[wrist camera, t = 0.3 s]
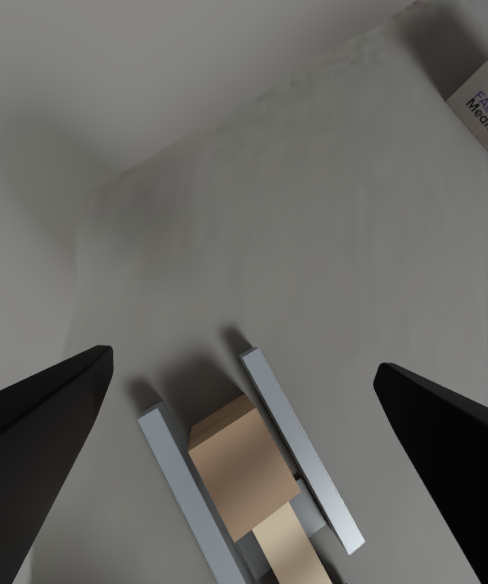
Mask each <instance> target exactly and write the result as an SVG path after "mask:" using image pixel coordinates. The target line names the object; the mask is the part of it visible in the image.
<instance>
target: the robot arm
mask: <svg viewBox="0 0 488 584" xmlns="http://www.w3.org/2000/svg"><path fill="white" fill-rule="evenodd" d="M113 370H114V367H113V349H112V347H111V346H105V345H97V346H95V347H92V348H90V349H88V350H86V351H84V352H82V353H80V354H77V355H75V356H73V357H71V358H69V359H67V360H64V361H62V362H60V363H58V364H56V365H54V366H52V367H49V368H47V369H45V370H43V371H41V372H39V373H37V374H34V375H32V376H30V377H28V378H26V379H24V380H21V381H19V382H17V383H15V384H13V385H11V386H9V387H7V388H5V389H2V390H0V584H12V583H13V581H14V579H15V577H16V575H17V573H18V571H19V569H20V567H21V565H22V563H23V561H24V559H25V557H26V556H27V554H28V552H29V550H30V548H31V546H32V544H33V542H34V540H35V538H36V536H37V534H38V532H39V530H40V528H41V526H42V524H43V522H44V521H45V519H46V517H47V515H48V513H49V511H50V509H51V507H52V505H53V503H54V501H55V499H56V497H57V495H58V493H59V491H60V489H61V487H62V485H63V484H64V482H65V480H66V478H67V476H68V474H69V472H70V470H71V468H72V466H73V464H74V462H75V460H76V458H77V456H78V454H79V452H80V450H81V448H82V447H83V445H84V443H85V441H86V439H87V437H88V435H89V433H90V431H91V429H92V427H93V425H94V423H95V420H96V418H97V415H98V413H99V410H100V408H101V405H102V402H103V400H104V397H105V394H106V392H107V389H108V386H109V384H110V381H111V378H112V375H113ZM373 387H374V390H375V392H376V394H377V396H378V399H379V401H380V403H381V405H382V407H383V409H384V412H385V414H386V416H387V418H388V420H389V422H390V424H391V427H392V429H393V430H394V432H395V434H396V436H397V438H398V440H399V441H400V443H401V445H402V446H403V448H404V450H405V452H406V453H407V455H408V457H409V459H410V460H411V462H412V464H413V466H414V467H415V469H416V471H417V473H418V474H419V476H420V478H421V480H422V481H423V483H424V485H425V487H426V488H427V490H428V492H429V494H430V495H431V497H432V499H433V501H434V502H435V504H436V506H437V507H438V509H439V511H440V513H441V514H442V516H443V518H444V520H445V521H446V523H447V525H448V527H449V528H450V530H451V532H452V534H453V535H454V537H455V539H456V541H457V542H458V544H459V546H460V548H461V549H462V551H463V553H464V555H465V556H466V558H467V560H468V562H469V563H470V565H471V567H472V569H473V570H474V572H475V574H476V575H477V577H478V579H479V581H480V582H481V584H488V407H486V406H484V405H481V404H479V403H477V402H475V401H473V400H471V399H469V398H467V397H464V396H462V395H460V394H458V393H456V392H454V391H452V390H450V389H447V388H445V387H443V386H441V385H439V384H437V383H435V382H432V381H430V380H428V379H426V378H424V377H422V376H420V375H418V374H415V373H413V372H411V371H409V370H407V369H405V368H403V367H401V366H398V365H396V364H394V363H381V364H380V365H379V367H378V370H377V373H376V376H375V379H374V382H373Z"/></svg>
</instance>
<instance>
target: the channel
mask: <svg viewBox="0 0 488 584" xmlns="http://www.w3.org/2000/svg"><path fill="white" fill-rule="evenodd" d="M238 357H239V359H240V361H241V362H242V364H243V366H244V368H245V370H246V372H247V374H248V375H249V377H250V379H251V381H252V383H253V385H254V387H255V388H256V390H257V392H258V394H259V396H260V398H261V399H262V401H263V403H264V405H265V407H266V409H267V411H268V412H269V414H270V416H271V418H272V420H273V422H274V424H275V425H276V427H277V429H278V431H279V433H280V435H281V437H282V438H283V440H284V442H285V444H286V446H287V448H288V449H289V451H290V453H291V455H292V457H293V459H294V461H295V462H296V464H297V466H298V468H299V470H300V472H301V474H302V475H303V477H304V479H305V481H306V483H307V485H308V487H309V488H310V490H311V492H312V494H313V496H314V498H315V499H316V501H317V503H318V505H319V507H320V509H321V511H322V512H323V514H324V516H325V518H326V520H327V522H328V524H329V525H330V527H331V529H332V531H333V532H334V534H335V535H336V537H337V538H338V540H339V541H340V543H341V544H342V546H343V547H344V548H345V550H346V551H347V553H348V554H349V555H350V554H352V553H353V552H354V551H355V550H356V549H357V548H358V547H360V546H361V545H362V544H363V543H364V542H365V541H364V539H363V537H362V535H361V533H360V531H359V530H358V528H357V526H356V524H355V522H354V520H353V519H352V517H351V515H350V513H349V511H348V510H347V508H346V506H345V504H344V502H343V500H342V499H341V497H340V495H339V493H338V491H337V489H336V488H335V486H334V484H333V482H332V480H331V479H330V477H329V475H328V473H327V471H326V469H325V468H324V466H323V464H322V462H321V460H320V459H319V457H318V455H317V453H316V451H315V449H314V448H313V446H312V444H311V442H310V440H309V438H308V437H307V435H306V433H305V431H304V429H303V428H302V426H301V424H300V422H299V420H298V418H297V417H296V415H295V413H294V411H293V409H292V407H291V406H290V404H289V402H288V400H287V398H286V397H285V395H284V393H283V391H282V389H281V387H280V386H279V384H278V382H277V380H276V378H275V377H274V375H273V373H272V371H271V369H270V367H269V366H268V364H267V362H266V360H265V358H264V356H263V355H262V353H261V351H260V349H259V348H256V347H252V348H250V349H249V350H247V351H245V352H244V353H242V354H240V355H238ZM138 422H139V424H140V426H141V428H142V430H143V432H144V434H145V436H146V438H147V440H148V442H149V444H150V446H151V448H152V450H153V452H154V454H155V456H156V458H157V460H158V462H159V464H160V466H161V469H162V471H163V473H164V475H165V477H166V479H167V481H168V483H169V485H170V487H171V489H172V491H173V493H174V495H175V497H176V499H177V501H178V503H179V505H180V507H181V509H182V511H183V513H184V515H185V517H186V519H187V521H188V523H189V525H190V527H191V529H192V531H193V533H194V535H195V537H196V539H197V541H198V543H199V545H200V547H201V549H202V551H203V553H204V555H205V557H206V559H207V561H208V563H209V565H210V567H211V570H212V572H213V574H214V576H215V578H216V580H217V582H218V584H255V582H254V580H253V578H252V576H251V574H250V572H249V570H248V568H247V566H246V564H245V562H244V560H243V558H242V556H241V554H240V552H239V550H238V548H237V547H236V545H235V543H234V542H233V540H232V538H231V536H230V534H229V532H228V530H227V528H226V526H225V524H224V522H223V520H222V518H221V516H220V514H219V512H218V510H217V508H216V506H215V504H214V502H213V500H212V498H211V496H210V494H209V492H208V490H207V488H206V486H205V484H204V482H203V480H202V478H201V476H200V474H199V472H198V470H197V468H196V467H195V465H194V463H193V461H192V459H191V457H190V455H189V453H188V450H187V448H186V446H185V444H184V442H183V440H182V438H181V436H180V434H179V432H178V430H177V428H176V426H175V424H174V422H173V420H172V418H171V416H170V414H169V412H168V410H167V408H166V406H165V404H164V402H163V400H162V401H160V402H159V403H157V404H155V405H153V406H152V407H150V408H148V409H147V410H145V411H144V412H143V413H142V415H141V416H140V417H139V418H138ZM295 481H296V483H297V484H298V486H299V488H300V490H301V492H300V493H299V494H298V495H296V496H295V497H294V498H292V499H291V500H290V501H289V503H290V505H291V507H292V509H293V511H294V513H295V515H296V517H297V518H298V520H299V522H300V524H301V526H302V528H303V530H304V532H305V533H306V535H307V537H308V538H309V537H311V536H312V535H313V534H314V533H315V532H317V531H318V530H319V529H320V528H322V527H323V526H324V525H325V524H326V523H325V521H324V519H323V517H322V515H321V513H320V511H319V510H318V508H317V506H316V504H315V502H314V500H313V498H312V497H311V495H310V493H309V491H308V489H307V487H306V485H305V484H304V482H303V480H302V478H301V477H300V476H299V477H298V478H296V479H295ZM236 542H237V544H238V546H239V548H240V550H241V552H242V554H243V556H244V558H245V560H246V562H247V564H248V566H249V568H250V570H251V572H252V574H253V576H254V578H255V580H256V581H257V580H258V579H259V578H260V577H262V576H263V575H264V574H265V573H267V572H268V571H269V570H270V569H271V566H270V564H269V562H268V560H267V558H266V556H265V554H264V552H263V550H262V548H261V546H260V544H259V542H258V540H257V538H256V536H255V534H254V533H253V531H252V530H250V531H249V532H248V533H247V534H245V535H244V536H243V537H241V538H240V539H239V540H237V541H236Z"/></svg>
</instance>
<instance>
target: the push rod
mask: <svg viewBox="0 0 488 584" xmlns="http://www.w3.org/2000/svg"><path fill="white" fill-rule="evenodd" d="M252 531H253V533H254V534H255V536H256V538H257V540H258V542H259V544H260V546H261V548H262V550H263V552H264V554H265V556H266V558H267V560H268V562H269V564H270V566H271V568H272V569H273V571H274V573H275V575H276V577H277V579H278V581H279V583H280V584H332V582H331V581H330V579H329V577H328V575H327V573H326V571H325V569H324V567H323V565H322V564H321V562H320V560H319V558H318V556H317V554H316V552H315V550H314V549H313V547H312V545H311V543H310V541H309V539H308V537H307V535H306V533H305V532H304V530H303V528H302V526H301V524H300V522H299V520H298V518H297V517H296V515H295V513H294V511H293V509H292V507H291V505H290V503H289V501H288V502H287V503H286V504H285V505H283V506H282V507H281V508H279V509H278V510H277V511H275V512H274V513H273V514H271V515H270V516H269V517H267V518H266V519H265V520H264V521H262V522H261V523H260V524H258V525H257V526H256V527H254V528H253V529H252ZM346 584H347V583H346Z"/></svg>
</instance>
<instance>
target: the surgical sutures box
mask: <svg viewBox="0 0 488 584" xmlns="http://www.w3.org/2000/svg"><path fill="white" fill-rule="evenodd" d="M445 102H446V104H447V105H448V106H449V107H450V108H451V109H452V111H453V112H454V113H455V114H456V115H457V117H458V118H459V119H460V120H461V121H462V122H463V124H464V125H465V126H466V127H467V128H468V129H469V131H470V132H471V133H472V134H473V135H474V136H475V138H476V139H477V140H478V141H479V142H480V144H481V145H482V146H483V147H484V148H485V149H486V151H487V152H488V60H487V61H486V62H485V63H484V64H483V65H482V66H481V67H480V68H479V69H478V70H477V71H476V72H475V73H474V74H473V75H472V76H471V77H470V78H469V79H468V80H467V81H466V82H465V83H464V84H463V85H462V86H461V87H460V88H459V89H458V90H457V91H456V92H455V93H454V94H453V95H452V96H451V97H449V98H448V99H447V100H446V101H445Z"/></svg>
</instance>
